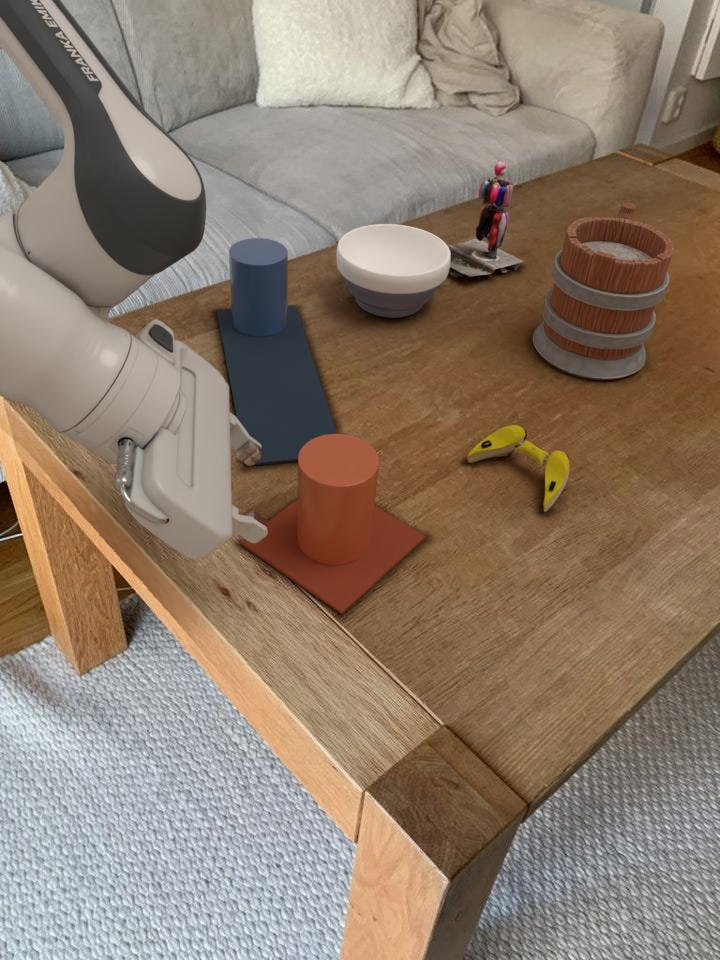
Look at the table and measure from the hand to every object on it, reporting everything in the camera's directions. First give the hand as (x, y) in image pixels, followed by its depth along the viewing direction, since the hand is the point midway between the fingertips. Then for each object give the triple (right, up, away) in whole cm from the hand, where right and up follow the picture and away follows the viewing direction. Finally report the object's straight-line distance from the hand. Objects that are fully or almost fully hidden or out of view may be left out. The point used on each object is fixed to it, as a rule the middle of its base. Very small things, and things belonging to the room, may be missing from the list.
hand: (259, 493), depth 69 cm
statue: (+25, +32, +48) cm, 63 cm away
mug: (+38, +19, +35) cm, 55 cm away
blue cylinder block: (-4, +21, +32) cm, 39 cm away
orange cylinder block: (+6, -4, +6) cm, 9 cm away
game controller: (+25, +1, +14) cm, 29 cm away
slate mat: (-1, +13, +25) cm, 28 cm away
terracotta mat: (+6, -5, +6) cm, 10 cm away
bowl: (+12, +24, +39) cm, 48 cm away
